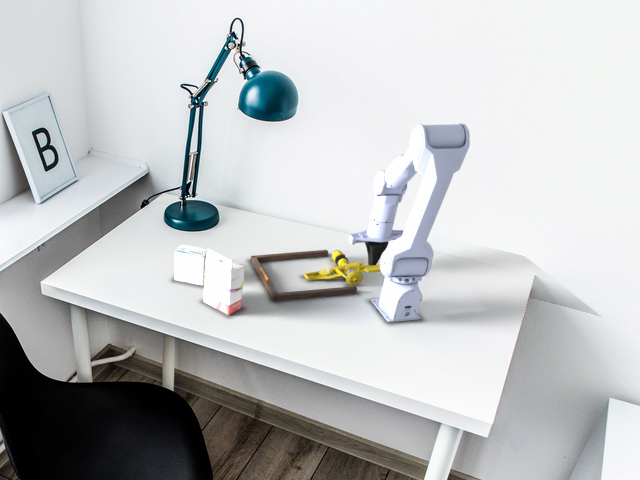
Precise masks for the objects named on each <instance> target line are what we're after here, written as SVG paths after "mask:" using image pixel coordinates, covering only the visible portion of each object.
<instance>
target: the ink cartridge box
mask: <svg viewBox="0 0 640 480" xmlns="http://www.w3.org/2000/svg"><path fill="white" fill-rule="evenodd" d="M207 249H208V250H207V258H206V264H205V283H204V285H203V303H205V304H207V305H209V306H211V307H212V308H214V309H216V310H217V311H220V312H221V313H223V314H225V315H226V316H230V315H231V314H233V313H235V312H237V311H238V310H241V309H242V301H243V292H244V291H243V290H244V279H245V265H243V264H241V263H239V262H237V261H235V260H234V259H231V258H229V257H226V256H225V255H223V254H220V253H218V252H216V251H214V250H212V249H210V248H207Z"/></svg>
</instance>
